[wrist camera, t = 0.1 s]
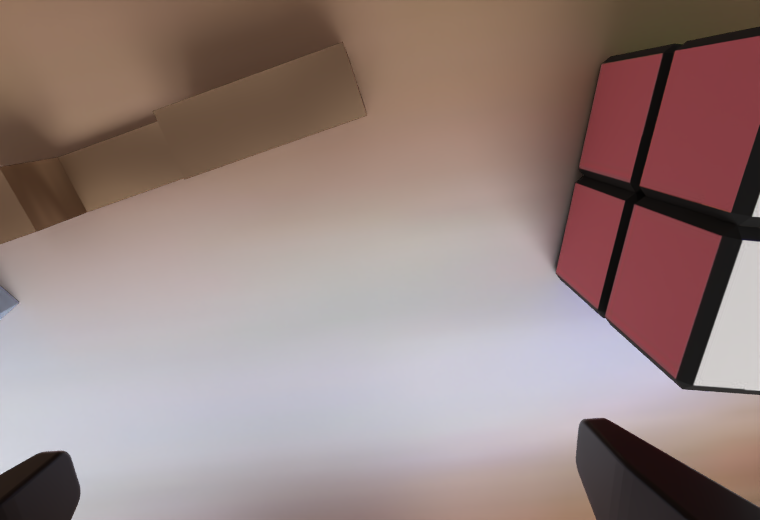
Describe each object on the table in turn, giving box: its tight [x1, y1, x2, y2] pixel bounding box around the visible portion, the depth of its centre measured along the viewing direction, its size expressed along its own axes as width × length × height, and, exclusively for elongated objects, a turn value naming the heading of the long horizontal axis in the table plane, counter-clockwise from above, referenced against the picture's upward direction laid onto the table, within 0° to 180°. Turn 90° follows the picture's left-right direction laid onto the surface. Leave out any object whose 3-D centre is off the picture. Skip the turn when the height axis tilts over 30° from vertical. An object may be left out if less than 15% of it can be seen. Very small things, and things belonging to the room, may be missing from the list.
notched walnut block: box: [0, 42, 367, 244], centre depth 19 cm, size 2×16×4 cm, turn 108°
